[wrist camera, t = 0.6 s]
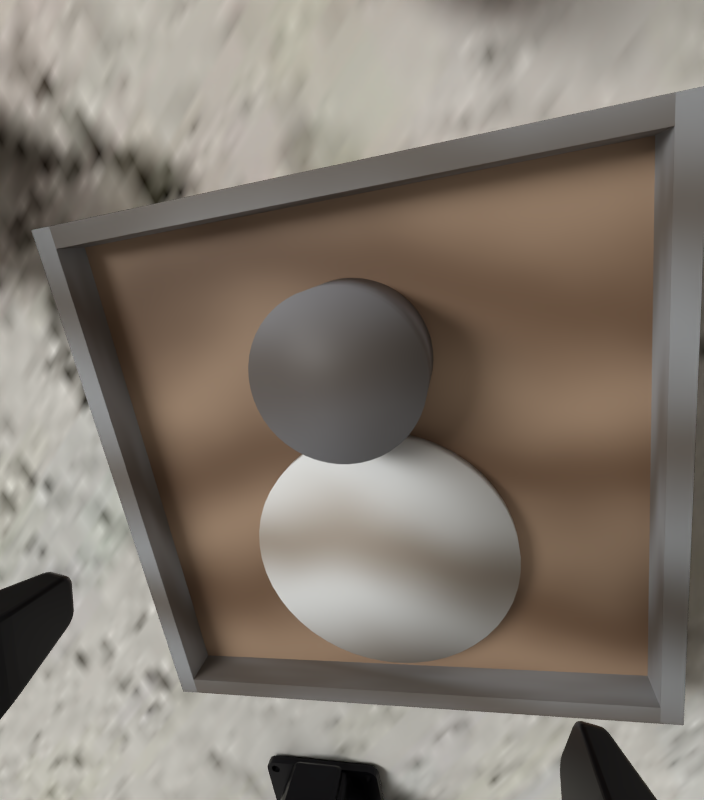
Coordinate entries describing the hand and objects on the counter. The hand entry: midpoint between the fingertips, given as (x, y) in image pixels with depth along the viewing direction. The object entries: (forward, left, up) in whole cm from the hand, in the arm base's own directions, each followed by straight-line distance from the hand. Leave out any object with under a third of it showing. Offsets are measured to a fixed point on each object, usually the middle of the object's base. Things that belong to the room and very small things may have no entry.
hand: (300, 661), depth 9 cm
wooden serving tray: (-2, +1, -13) cm, 13 cm away
